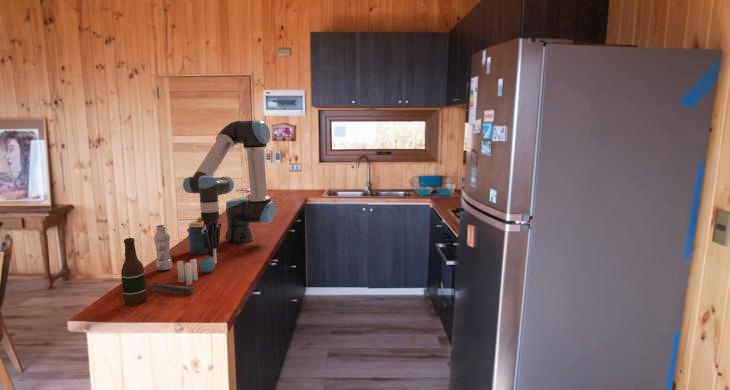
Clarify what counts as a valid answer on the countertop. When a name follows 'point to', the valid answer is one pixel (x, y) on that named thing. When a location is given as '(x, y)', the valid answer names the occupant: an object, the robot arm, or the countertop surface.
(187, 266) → the pin
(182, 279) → the back pin
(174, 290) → the dark grey rod
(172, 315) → the countertop surface
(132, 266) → the beer bottle
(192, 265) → the front pin
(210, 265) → the ball
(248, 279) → the countertop surface
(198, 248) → the canister
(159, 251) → the plastic bottle
